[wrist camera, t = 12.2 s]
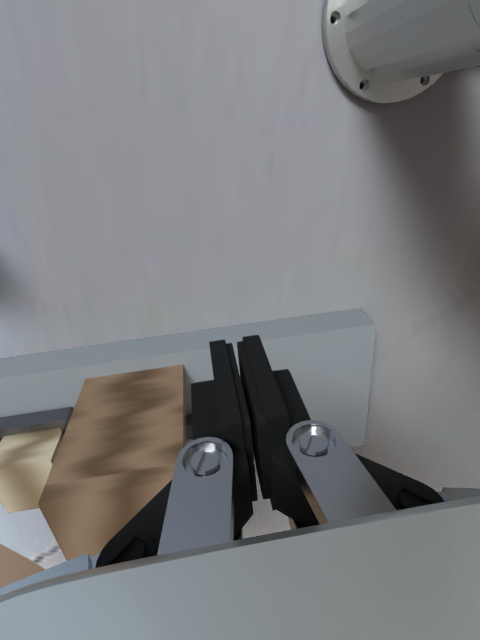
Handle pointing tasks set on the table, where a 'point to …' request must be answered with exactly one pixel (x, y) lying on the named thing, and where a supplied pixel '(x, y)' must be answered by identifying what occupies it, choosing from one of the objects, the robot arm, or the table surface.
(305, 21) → the table surface
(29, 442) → the block
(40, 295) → the table surface
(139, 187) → the table surface
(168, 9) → the table surface
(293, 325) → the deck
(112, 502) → the tunnel
